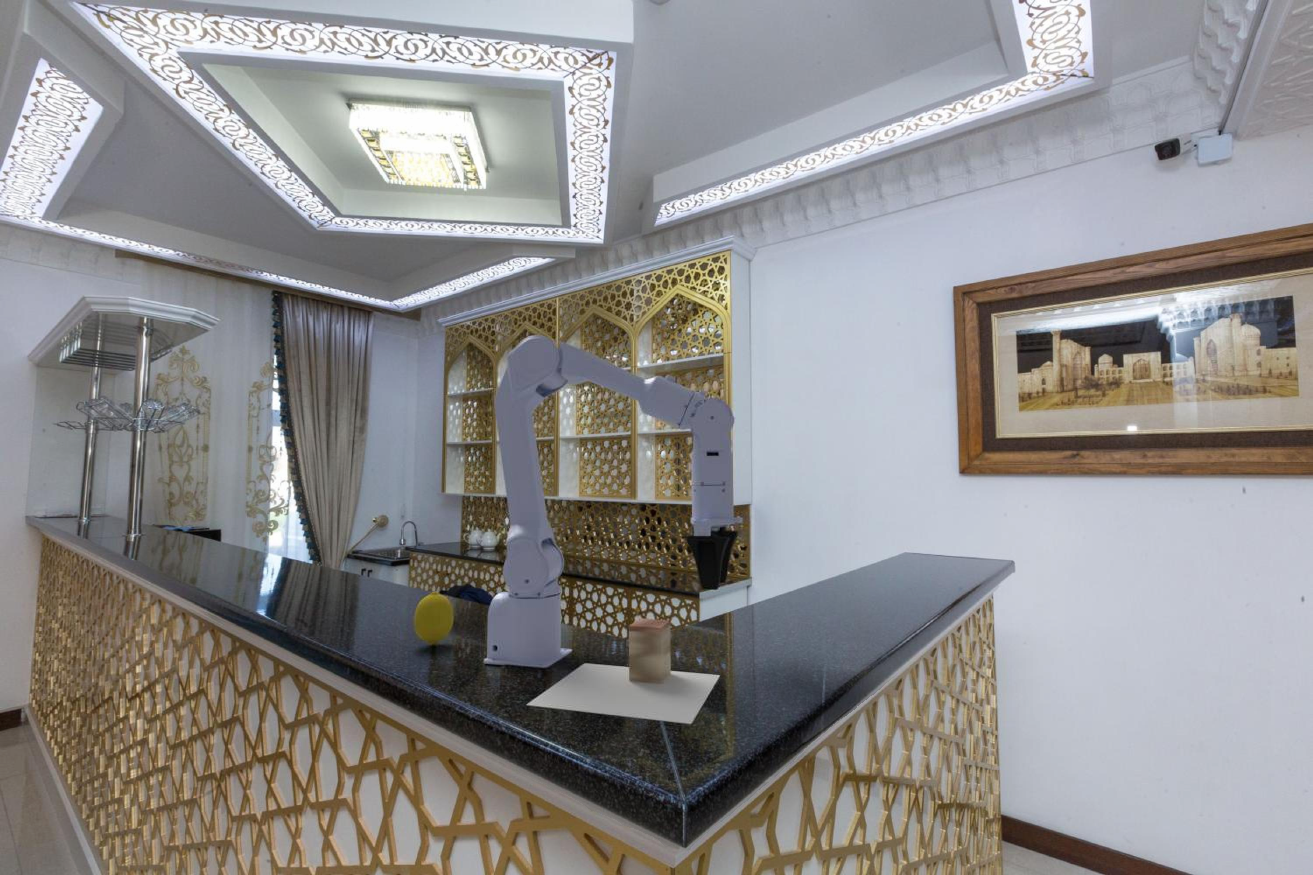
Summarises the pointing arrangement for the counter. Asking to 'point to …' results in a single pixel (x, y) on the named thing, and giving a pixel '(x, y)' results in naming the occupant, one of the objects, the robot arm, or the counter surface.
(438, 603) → the lemon
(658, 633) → the maple block
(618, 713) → the grey mat
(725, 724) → the counter surface
